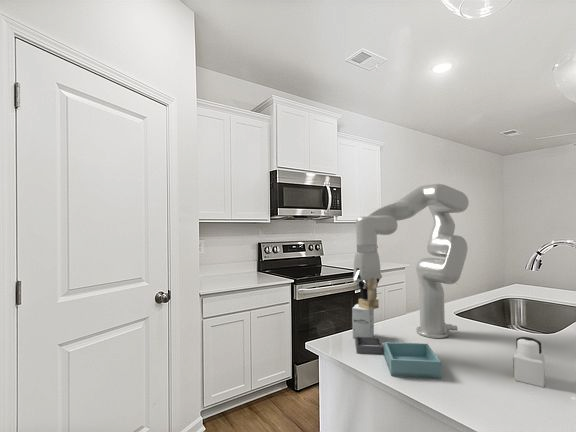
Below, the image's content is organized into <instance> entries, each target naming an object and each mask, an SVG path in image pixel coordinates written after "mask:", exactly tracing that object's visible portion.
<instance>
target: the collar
mask: <svg viewBox="0 0 576 432" xmlns="http://www.w3.org/2000/svg"><path fill="white" fill-rule="evenodd" d="M354 344H355V351H356V352H355V353H356V354H367V355H368V354H370V355H371V354H373V355H384V343H383V342H382V339H381V337H375V336H373V337H355V338H354Z"/></svg>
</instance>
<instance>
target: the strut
mask: <svg viewBox="0 0 576 432" xmlns="http://www.w3.org/2000/svg"><path fill="white" fill-rule="evenodd" d="M362 283H363V281H362ZM366 289H367V295H368V299H362V298H361V297H360V298H358V304H359V307H360V308H364V309H367V310H372V309H374V310H375V309H379V307H380V306H379V302H380V300H379V299H377V297H376V290H377V287H376V277H375V278H371V279H368V280H367V284H366Z"/></svg>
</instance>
